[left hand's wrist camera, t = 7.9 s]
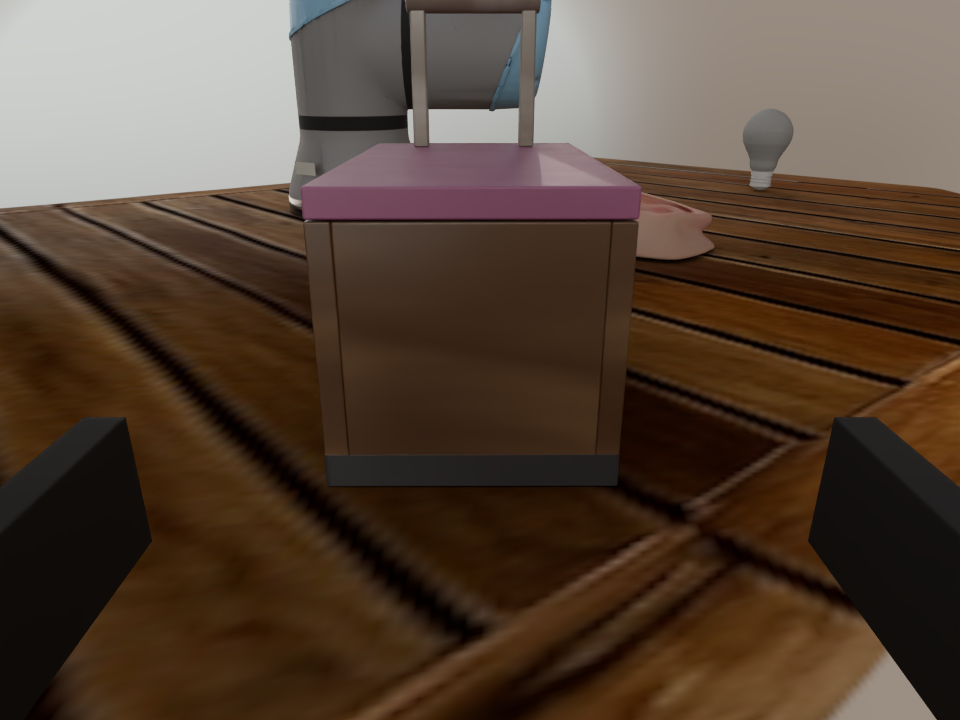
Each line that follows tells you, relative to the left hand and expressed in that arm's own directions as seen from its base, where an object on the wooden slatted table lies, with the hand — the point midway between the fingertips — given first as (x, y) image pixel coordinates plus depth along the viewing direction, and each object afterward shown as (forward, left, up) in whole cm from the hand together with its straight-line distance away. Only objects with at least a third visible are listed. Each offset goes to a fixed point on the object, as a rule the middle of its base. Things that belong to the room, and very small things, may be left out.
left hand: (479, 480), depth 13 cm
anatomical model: (-25, +44, -6) cm, 51 cm away
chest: (-13, +12, -6) cm, 18 cm away
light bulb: (-34, +83, -6) cm, 90 cm away
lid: (-13, +12, +3) cm, 18 cm away
